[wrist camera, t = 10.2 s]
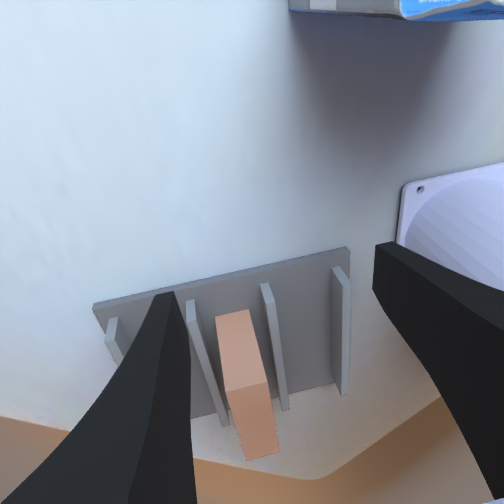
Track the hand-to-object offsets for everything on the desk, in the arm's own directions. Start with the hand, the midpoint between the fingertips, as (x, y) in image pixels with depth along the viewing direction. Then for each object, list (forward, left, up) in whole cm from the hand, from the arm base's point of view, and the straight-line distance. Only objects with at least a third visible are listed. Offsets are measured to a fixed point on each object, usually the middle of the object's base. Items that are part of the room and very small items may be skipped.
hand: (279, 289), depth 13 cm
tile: (+2, +13, -9) cm, 16 cm away
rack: (+2, +13, -9) cm, 16 cm away
